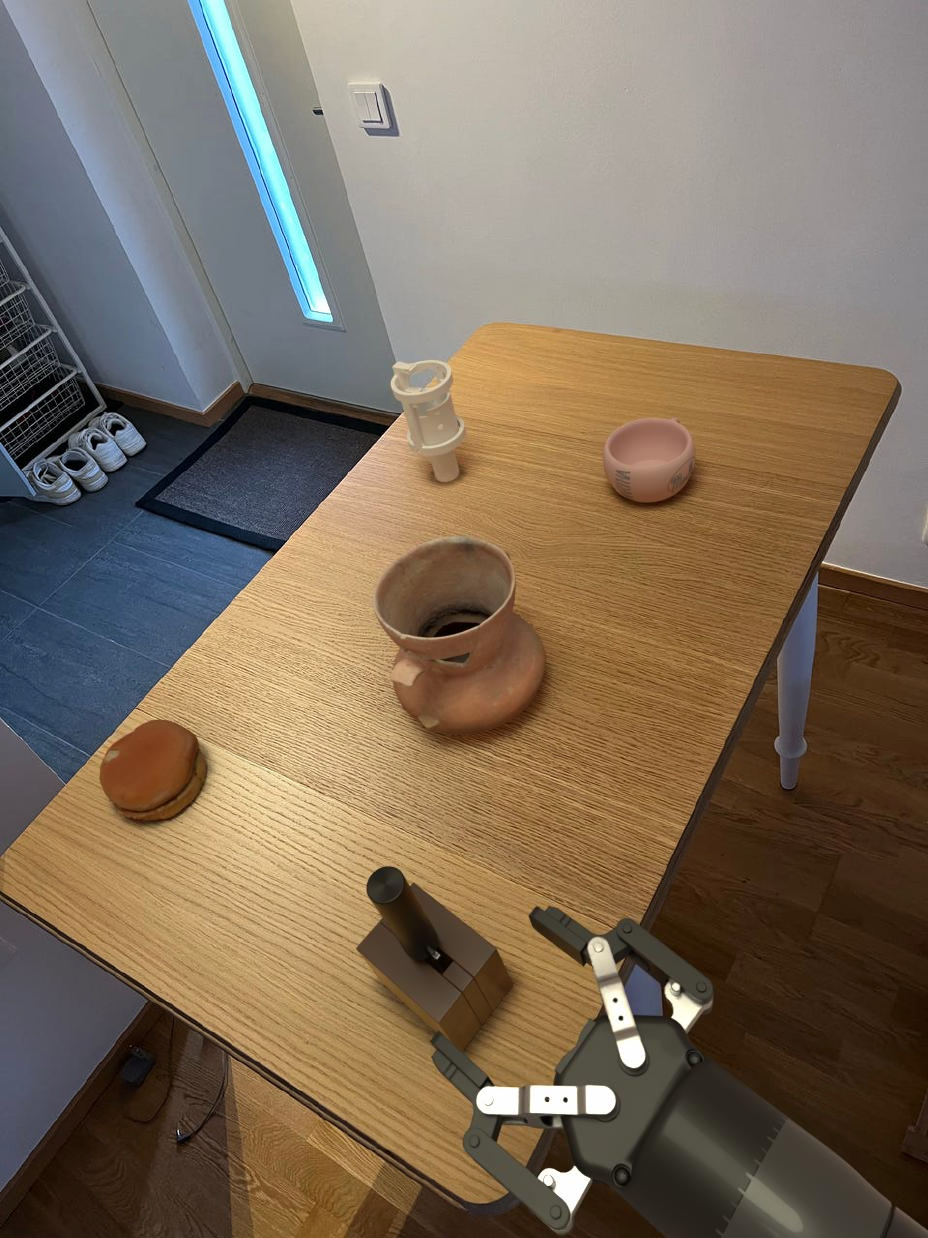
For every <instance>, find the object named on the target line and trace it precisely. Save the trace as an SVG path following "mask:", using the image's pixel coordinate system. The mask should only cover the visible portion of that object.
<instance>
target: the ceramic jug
mask: <svg viewBox="0 0 928 1238" xmlns="http://www.w3.org/2000/svg"><path fill="white" fill-rule="evenodd" d="M375 583H376V584H375V587H374V588H373V593H372V607H373V611H374V614H375V617H376V619H377V621H378V623H379V624H380V626H381V628H382V629H383V631H384V632H385V633H386V634H387V636H388V638H390V640H392V641H393V643H394V644H395V645H396V646H398V647H399V648H398V651H397V653H396V656H395V659H394V663H393V669H392V671H391V673H390V676H389V680H390V681H391V682H392V684H393V685H392V686H393V689H394V692H395V696H396V698H397V701H398V702H399V703H400V705H401V707H402V708H403V709H404V711H405V712H406V713H408V715H409V716H411V718H412V719H414V720H415V721H416V722H418V723H420V724H421V725H422V726H423V727H425V729H426V730H427V731H428V732H429V733H437V734H442V735H443V734H444V735H453V736H469V735H475V734H481V733H485V732H489V731H491V730H493V729H497V728H499V727H501V726H503V725H505V724H507V723H508V722H510V721H512V720H513V719H515V718H516V717H518V716H519V715H520V714H521V713H522V712H523V711H525V709H526V708H527V707H528V706H529V705H530V704H531V703H532V701H533V700H534V699H535V697H536V695H537V694H538V692H539V690H540V688H541V686H542V683H543V679H544V676H545V673H546V672H545V671H546V661H547V660H546V651H545V647H544V644H543V641H542V639H541V637H540V635H539V633H538V632H537V631H536V629H535V628H534V627H533V626H532V625H531V623H529V621H527V620H526V619H525V618H524V617H522V616H521V615H519V614H517V613H516V612H514V607H515V601H516V590H517V589H516V588H517V586H516V583H517V582H516V571H515V568H514V565H513V563H512V559H511V556H510V555H509V553H508V552H507V550H505V549H504V548H502V547H501V546H499V545H496V544H493V543H490V542H489V541H488V540H486V539H484V538H480V537H476V536H469V535H454V536H453V535H452V536H442V537H441V536H440V537H438V538H433V539H432V540H427V541H424V542H422V543H419V544H417V545H416V546H413V547H411V548H410V549H409V550H407V551H405V552H403V553H401V554H400V555H398V556H397V557H396V558H395V559H394V560H392V562H390V563H389V564H388V565H387V566H386V568H384V570H383V571H382V573H381V575H379V577H378V579H377V581H376V582H375Z"/></svg>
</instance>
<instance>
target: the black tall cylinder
mask: <svg viewBox="0 0 928 1238" xmlns="http://www.w3.org/2000/svg"><path fill="white" fill-rule="evenodd" d="M410 885H411V884H409V882H408V880H407V878H406V877H405V875H404V873H403V872H402V871H401V870H400V869H399V868H398V867H396V866H391V865H385V866H381V867H378V868H377V869H376V870H375V871H373V872H372V873H371V874H370V875H369V877H368V879H367V882H366V887H365V890H366V894H367V897H368V898H369V900H370V901H371V903H372V904H373V906H374V908H375V909H376V910H377V912H378V914H379V915H380V917H381V919H382V918H383V919H384V921H385V922H386V924H387V925H388V927H389V928H390V930H391V931H392V933H393V934H394V936H395V937H396V939H397V940H398V942H399V943H400V945H401V946H402V948H403V949H404V951H405V952H406V954H407V955H408V956H409V957H410V958H412V959H414V960H425V961H426V962H427V963H428V964H429V965H431V966H432V967H433V968H434V969H435V970H436V971H438V972H439V973H440V974H441V975H442V974H443V973H444V971H445V970H446V969H447V968H448V967H447V965H446V964H445V962H444V960H443V959H442V957H441V955H440V954H439V953H438V952H437V951H435V950H436V949H437V946H438V935H437V932H436V931H435V929H434V927H433V925H432V924H431V922H430V920H429V918H428V917H427V915H426V913H425V911H424V910H423V908H422V906H421V905H420V903H419V901H418V899H417V898H416V896H415V894H414V892H413V891H412V889H411V887H410Z"/></svg>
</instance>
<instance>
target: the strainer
mask: <svg viewBox="0 0 928 1238" xmlns="http://www.w3.org/2000/svg"><path fill="white" fill-rule="evenodd" d="M391 368H392V371H393V377H392V378H391V380H390V387H391V391H392V394H393V397H394V399H396V400H397V401H399V402H400V403H401V406H402V409H403V414H404V416H405V419H406V423H407V427H408V429H407V432H406V440H407V443H408V447H409V449H410V450H411V452H413V453H414V454H417V455H418V456H423V457H429V460H430V462H431V466H432V469H433V473H434V477H435V479H436V480H437V481H438V482H441V483H449V482H452V481H453V480H456V479H457V478H458V477H459V475H460V469H459V464H458V461H457V458H456V454H455V449H456V448H457V447H459V446H461V444H462V443H463V442H464V440H465V439H466V436H467V429H466V425H465V422H464V419H463V418H462V417H461V416H459V415H458V414H456V411H455V406H454V402H453V398H452V394H451V390H450V389H451V387H452V386H453V384H454V375H453V371H452V367H451V365H449V364H448V363H446V362H445V361H442V360H438V359H426V360H420V361H416V362H413V363H410V362H409V363H407V362H405V361H399V360H398V361H397V362H395V364H393V365H392V366H391ZM427 370H429V371H430V372H432V371H434V374H435V378H436V381H437V385H435V386H433V387H427V388H423V387H419V386H415V385H412V384H411V380H410V377H411V376H413V375H417V374H419V373H423V372H426V371H427Z"/></svg>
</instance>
